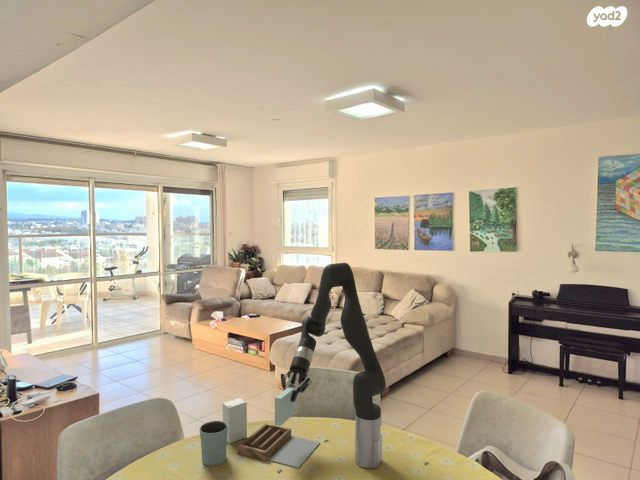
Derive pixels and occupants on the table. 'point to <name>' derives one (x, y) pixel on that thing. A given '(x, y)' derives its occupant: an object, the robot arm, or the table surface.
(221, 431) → the grey-green cup
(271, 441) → the walnut box
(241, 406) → the skincare box
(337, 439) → the table surface
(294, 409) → the cover plate
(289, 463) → the grey mat
